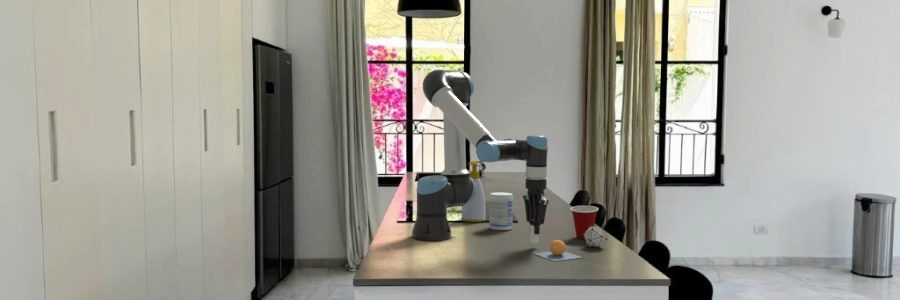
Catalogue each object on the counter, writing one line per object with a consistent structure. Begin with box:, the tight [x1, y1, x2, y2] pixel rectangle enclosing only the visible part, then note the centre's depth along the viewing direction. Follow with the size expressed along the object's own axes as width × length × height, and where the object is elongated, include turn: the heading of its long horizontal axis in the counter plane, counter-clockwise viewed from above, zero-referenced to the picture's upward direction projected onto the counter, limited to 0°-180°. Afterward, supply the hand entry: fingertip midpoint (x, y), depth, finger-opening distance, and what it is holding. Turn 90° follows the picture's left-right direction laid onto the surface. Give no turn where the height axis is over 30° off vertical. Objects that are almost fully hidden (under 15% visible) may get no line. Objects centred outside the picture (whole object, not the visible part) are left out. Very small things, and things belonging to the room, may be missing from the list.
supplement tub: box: [489, 191, 514, 231], centre depth 281 cm, size 10×10×15 cm
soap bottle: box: [460, 160, 487, 223], centre depth 299 cm, size 11×12×26 cm
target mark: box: [532, 251, 583, 262], centre depth 234 cm, size 12×12×1 cm
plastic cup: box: [570, 205, 599, 240], centre depth 265 cm, size 11×11×12 cm
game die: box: [582, 225, 609, 249], centre depth 249 cm, size 9×8×10 cm
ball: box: [549, 239, 567, 256], centre depth 234 cm, size 6×6×6 cm
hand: (534, 242), depth 246 cm, fingers closed
